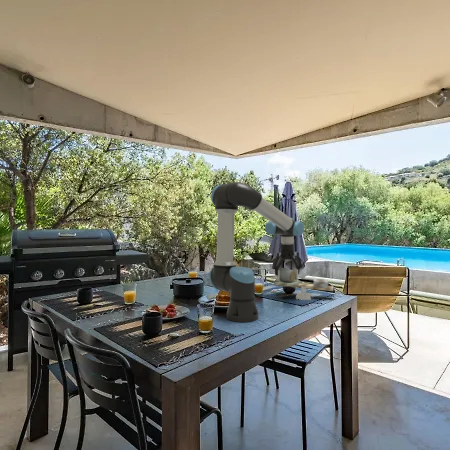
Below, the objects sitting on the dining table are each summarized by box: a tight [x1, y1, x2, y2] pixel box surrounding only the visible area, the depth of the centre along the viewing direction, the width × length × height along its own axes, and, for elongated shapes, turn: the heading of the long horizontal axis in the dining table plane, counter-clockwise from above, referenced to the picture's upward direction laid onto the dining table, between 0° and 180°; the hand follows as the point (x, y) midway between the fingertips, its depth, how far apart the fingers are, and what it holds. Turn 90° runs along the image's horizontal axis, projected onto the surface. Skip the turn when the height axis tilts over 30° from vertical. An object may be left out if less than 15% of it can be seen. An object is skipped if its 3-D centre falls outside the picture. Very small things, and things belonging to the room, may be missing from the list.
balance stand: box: [295, 286, 312, 301], centre depth 194 cm, size 8×12×7 cm, turn 164°
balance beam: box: [273, 278, 334, 292], centre depth 194 cm, size 33×15×5 cm, turn 75°
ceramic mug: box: [279, 267, 296, 282], centre depth 197 cm, size 11×8×8 cm
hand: (287, 280), depth 197 cm, fingers closed on ceramic mug, 11 cm apart
